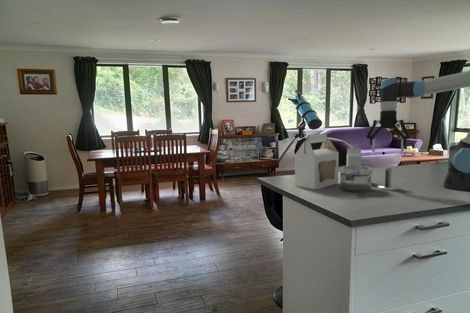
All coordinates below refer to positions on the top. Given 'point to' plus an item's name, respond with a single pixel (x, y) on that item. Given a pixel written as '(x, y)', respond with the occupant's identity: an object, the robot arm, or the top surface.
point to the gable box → (316, 163)
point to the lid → (388, 182)
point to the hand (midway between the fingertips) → (387, 152)
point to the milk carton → (354, 156)
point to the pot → (355, 178)
